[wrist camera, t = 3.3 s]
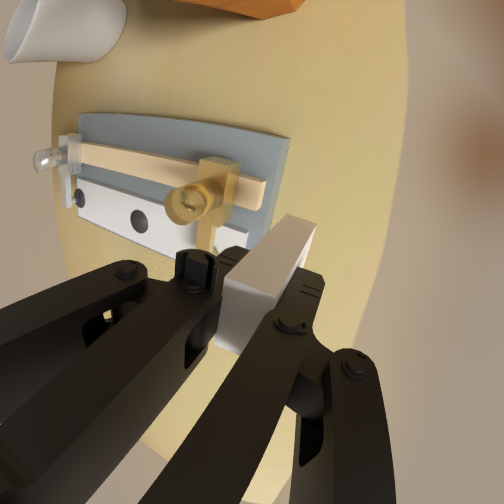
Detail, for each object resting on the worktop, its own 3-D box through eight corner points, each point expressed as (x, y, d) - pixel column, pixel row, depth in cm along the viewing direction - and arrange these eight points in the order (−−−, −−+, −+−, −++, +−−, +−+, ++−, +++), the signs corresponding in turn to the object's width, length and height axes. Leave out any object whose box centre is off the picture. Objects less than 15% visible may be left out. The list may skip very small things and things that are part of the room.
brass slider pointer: (216, 156, 18) (167, 166, 13) (243, 162, 17) (199, 174, 13) (202, 253, 21) (161, 286, 17) (225, 262, 21) (187, 299, 16)
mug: (114, 63, 21) (21, 60, 11) (74, 63, 22) (-2, 67, 13) (149, -31, 15) (70, -59, 5) (102, -19, 16) (32, -32, 7)
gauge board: (92, 112, 24) (71, 114, 21) (290, 138, 18) (278, 139, 16) (90, 211, 29) (71, 219, 27) (257, 279, 24) (244, 297, 22)
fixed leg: (73, 132, 22) (32, 140, 18) (83, 133, 22) (40, 141, 17) (73, 200, 26) (36, 215, 21) (82, 204, 25) (45, 220, 21)
